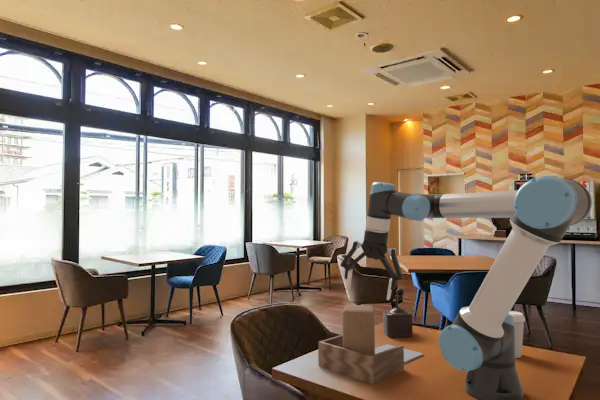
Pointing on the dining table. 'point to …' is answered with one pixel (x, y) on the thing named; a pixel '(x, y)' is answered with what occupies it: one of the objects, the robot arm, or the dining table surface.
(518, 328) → the coffee cup
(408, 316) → the dark statue on base
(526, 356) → the dining table surface
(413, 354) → the mat
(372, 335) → the block
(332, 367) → the bracket
